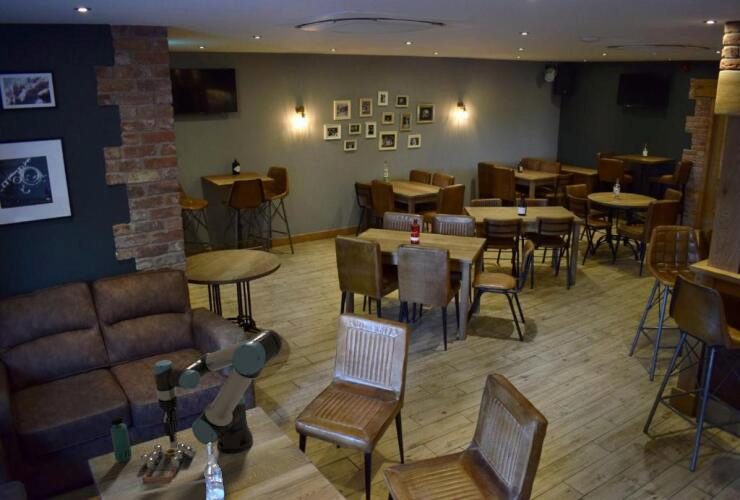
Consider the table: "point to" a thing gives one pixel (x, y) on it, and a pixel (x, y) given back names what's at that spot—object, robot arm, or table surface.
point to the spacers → (158, 454)
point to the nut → (169, 454)
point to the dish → (163, 478)
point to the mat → (170, 464)
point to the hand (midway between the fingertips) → (174, 446)
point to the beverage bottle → (120, 440)
